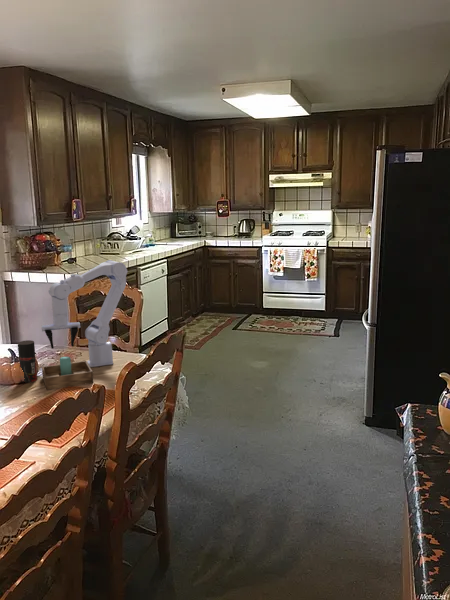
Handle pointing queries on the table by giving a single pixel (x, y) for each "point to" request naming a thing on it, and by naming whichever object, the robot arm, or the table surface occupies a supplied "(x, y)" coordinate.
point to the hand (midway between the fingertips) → (62, 346)
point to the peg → (65, 366)
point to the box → (67, 376)
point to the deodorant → (27, 360)
